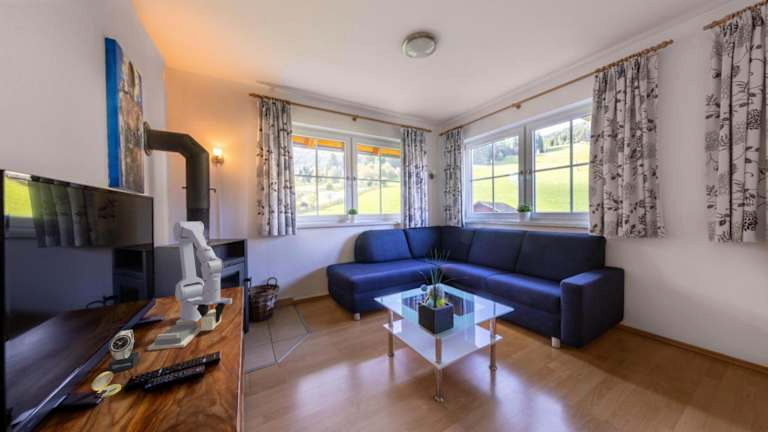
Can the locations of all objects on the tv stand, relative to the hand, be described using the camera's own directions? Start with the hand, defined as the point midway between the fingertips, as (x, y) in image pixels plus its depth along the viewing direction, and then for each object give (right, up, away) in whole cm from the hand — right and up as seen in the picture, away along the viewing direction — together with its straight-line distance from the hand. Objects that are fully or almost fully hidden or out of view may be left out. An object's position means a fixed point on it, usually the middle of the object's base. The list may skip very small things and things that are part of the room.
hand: (211, 321), depth 106 cm
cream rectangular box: (0, -1, 0) cm, 1 cm away
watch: (-9, -3, -27) cm, 28 cm away
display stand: (-7, -3, -9) cm, 12 cm away
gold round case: (-2, -3, -38) cm, 38 cm away
